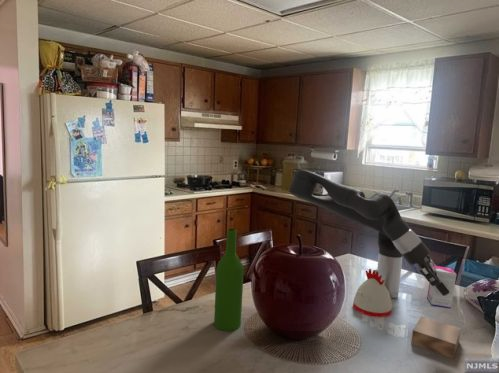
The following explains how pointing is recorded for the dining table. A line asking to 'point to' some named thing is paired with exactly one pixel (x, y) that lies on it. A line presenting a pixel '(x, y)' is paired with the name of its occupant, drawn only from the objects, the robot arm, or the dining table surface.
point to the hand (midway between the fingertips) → (446, 289)
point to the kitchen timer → (373, 297)
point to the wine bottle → (229, 287)
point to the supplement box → (448, 280)
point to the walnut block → (436, 336)
